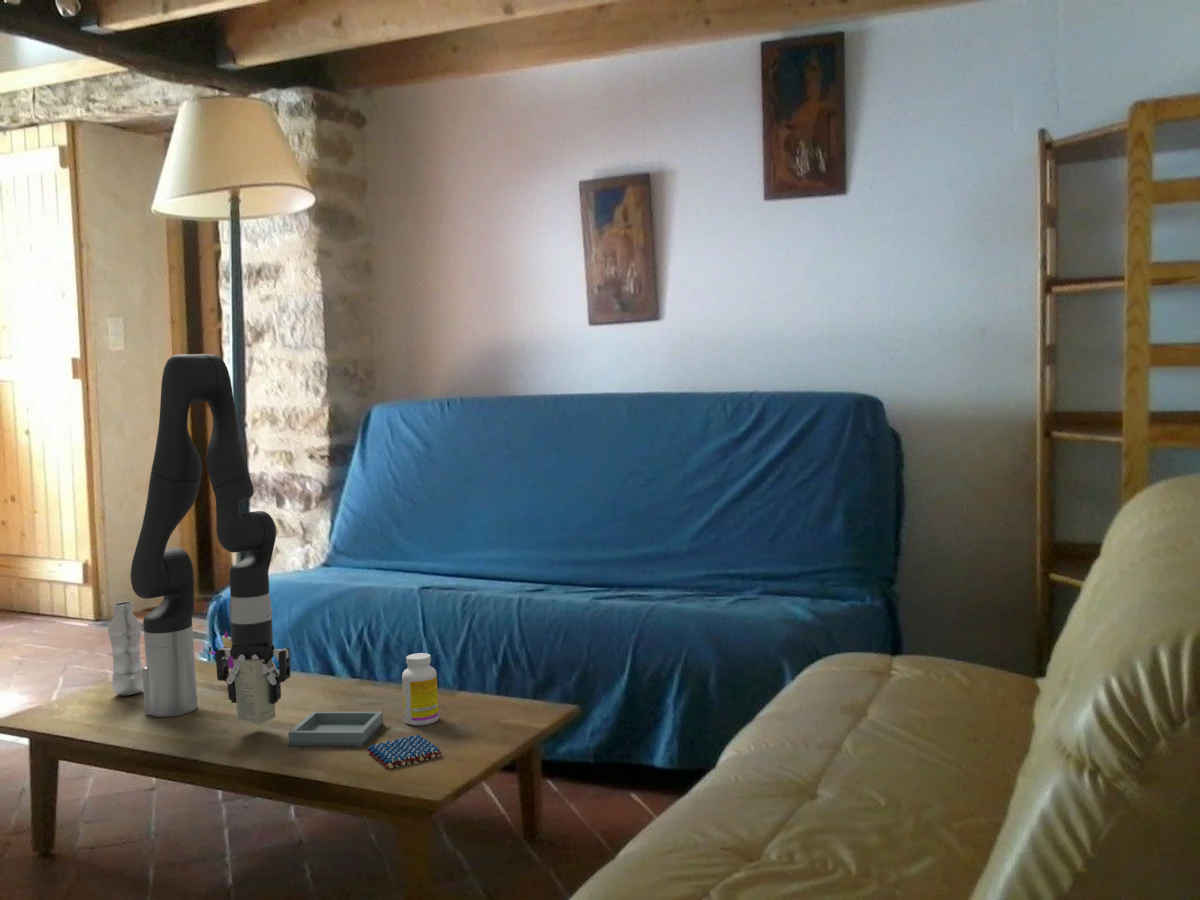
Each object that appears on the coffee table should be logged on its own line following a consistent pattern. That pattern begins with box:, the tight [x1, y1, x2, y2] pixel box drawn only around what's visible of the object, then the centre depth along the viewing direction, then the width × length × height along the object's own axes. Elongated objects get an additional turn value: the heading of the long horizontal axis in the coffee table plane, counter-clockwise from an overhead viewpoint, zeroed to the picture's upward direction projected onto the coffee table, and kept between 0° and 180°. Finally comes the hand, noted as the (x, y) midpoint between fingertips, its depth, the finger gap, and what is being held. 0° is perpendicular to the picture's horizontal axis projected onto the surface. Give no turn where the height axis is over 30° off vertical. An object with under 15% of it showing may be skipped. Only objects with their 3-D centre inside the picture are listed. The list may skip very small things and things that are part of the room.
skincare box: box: [233, 659, 276, 725], centre depth 205 cm, size 6×4×12 cm
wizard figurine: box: [208, 630, 234, 671], centre depth 239 cm, size 11×3×12 cm, turn 66°
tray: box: [287, 711, 385, 747], centre depth 202 cm, size 14×12×2 cm
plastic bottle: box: [107, 601, 143, 696], centre depth 233 cm, size 6×7×20 cm
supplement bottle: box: [401, 652, 440, 727], centre depth 208 cm, size 7×7×13 cm
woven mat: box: [366, 734, 443, 769], centre depth 191 cm, size 10×11×2 cm
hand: (255, 702), depth 205 cm, fingers closed on skincare box, 7 cm apart
